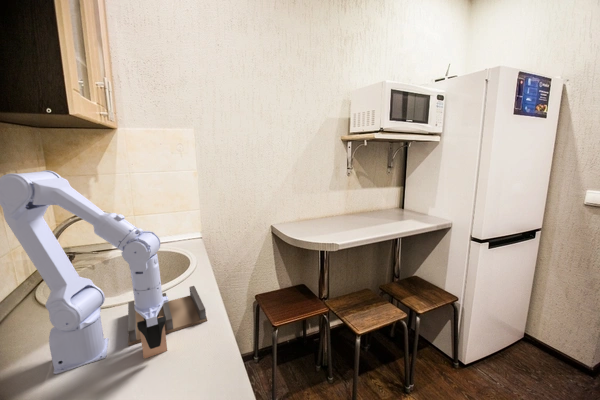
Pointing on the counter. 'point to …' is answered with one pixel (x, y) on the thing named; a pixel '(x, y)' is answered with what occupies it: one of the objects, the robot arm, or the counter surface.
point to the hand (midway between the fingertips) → (154, 337)
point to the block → (150, 352)
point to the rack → (170, 315)
